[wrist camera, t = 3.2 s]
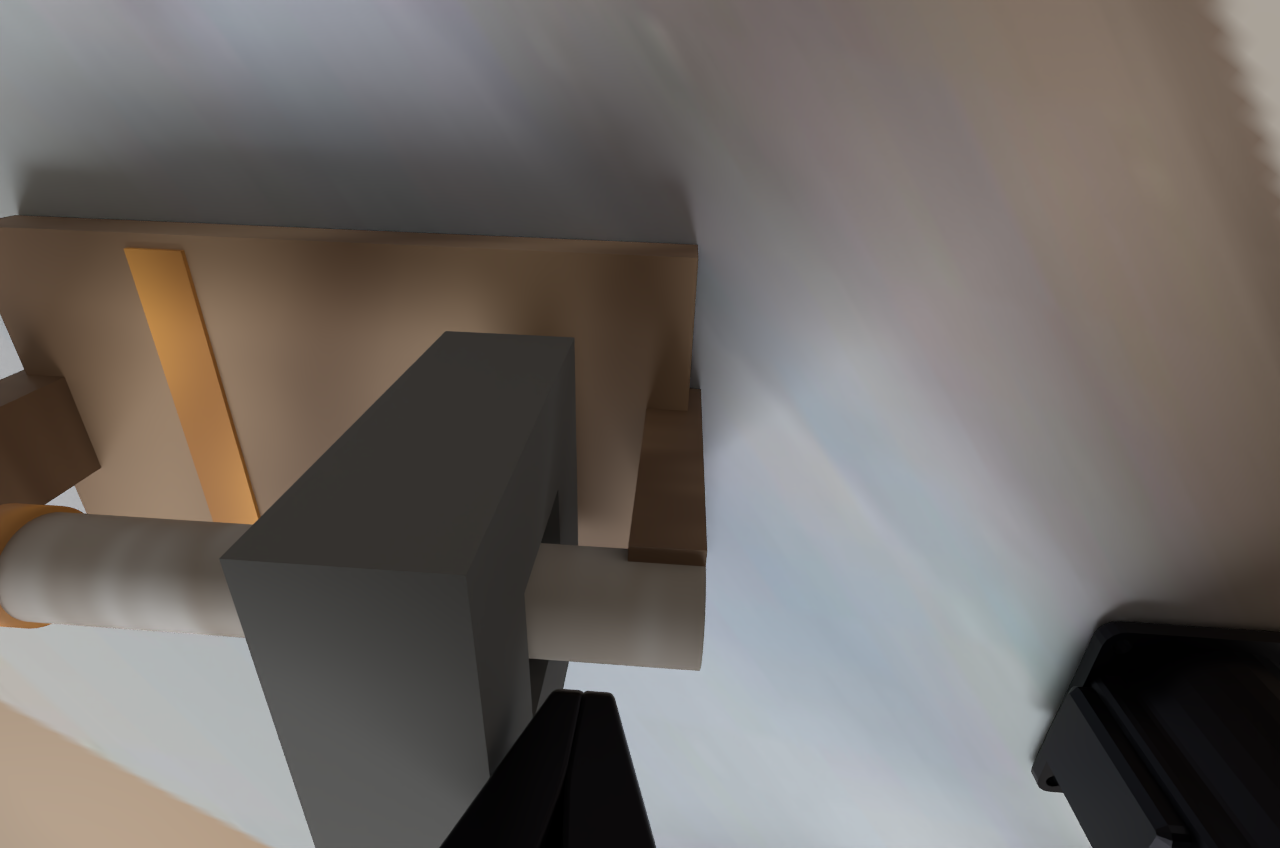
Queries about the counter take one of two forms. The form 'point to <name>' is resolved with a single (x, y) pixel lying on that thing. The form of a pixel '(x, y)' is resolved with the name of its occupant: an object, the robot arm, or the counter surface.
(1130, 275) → the counter surface
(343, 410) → the pipe stand
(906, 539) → the counter surface
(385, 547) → the grey square collar
